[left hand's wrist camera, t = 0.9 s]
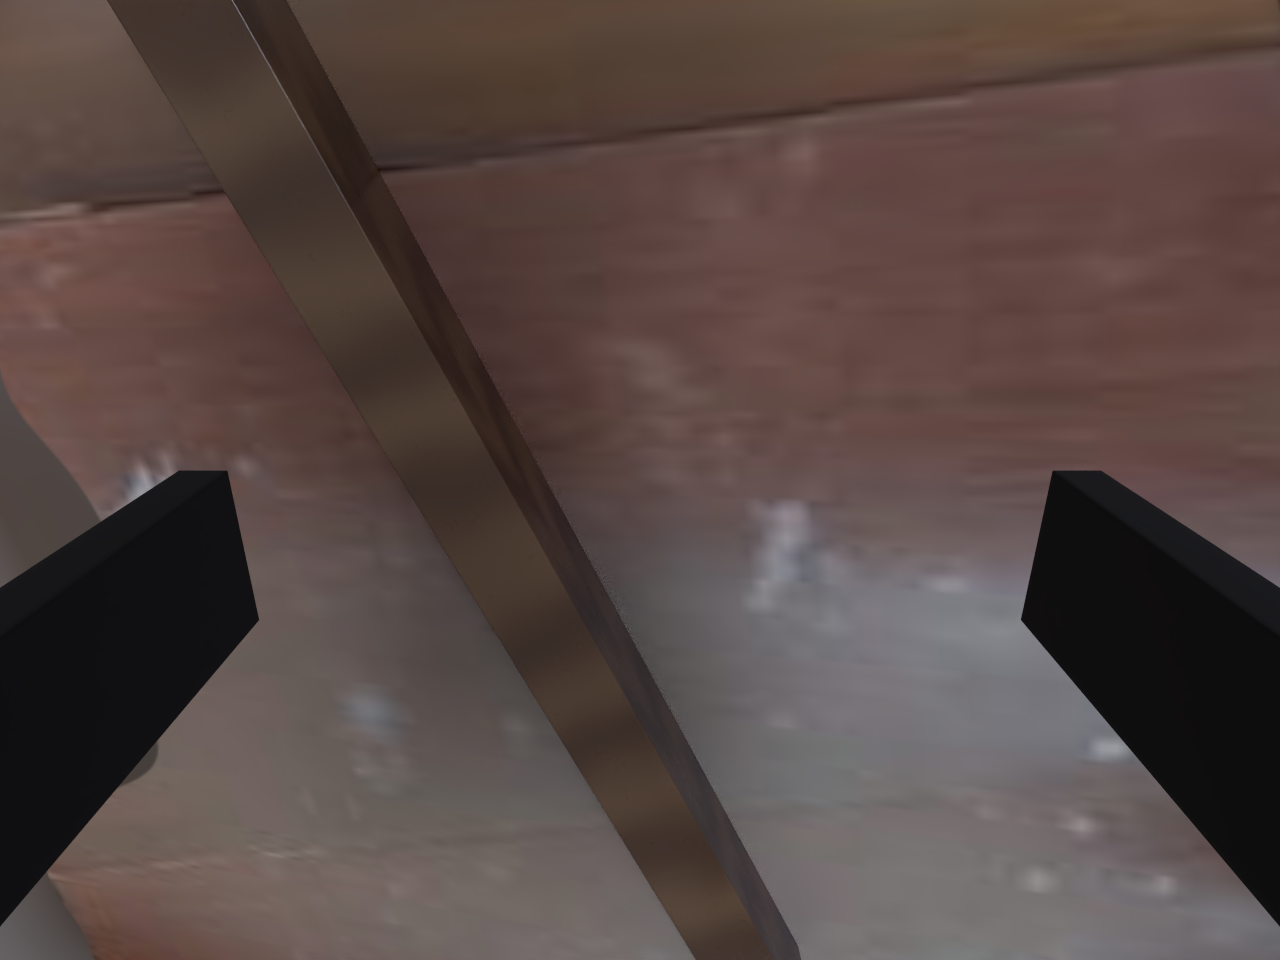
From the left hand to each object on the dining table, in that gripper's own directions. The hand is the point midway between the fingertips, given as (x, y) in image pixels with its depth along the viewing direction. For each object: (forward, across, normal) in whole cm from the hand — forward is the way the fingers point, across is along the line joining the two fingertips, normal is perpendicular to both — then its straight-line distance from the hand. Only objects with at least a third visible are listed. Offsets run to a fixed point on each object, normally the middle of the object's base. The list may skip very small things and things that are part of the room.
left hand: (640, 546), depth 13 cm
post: (+35, -6, -20) cm, 40 cm away
